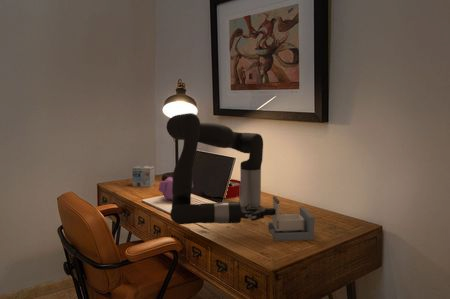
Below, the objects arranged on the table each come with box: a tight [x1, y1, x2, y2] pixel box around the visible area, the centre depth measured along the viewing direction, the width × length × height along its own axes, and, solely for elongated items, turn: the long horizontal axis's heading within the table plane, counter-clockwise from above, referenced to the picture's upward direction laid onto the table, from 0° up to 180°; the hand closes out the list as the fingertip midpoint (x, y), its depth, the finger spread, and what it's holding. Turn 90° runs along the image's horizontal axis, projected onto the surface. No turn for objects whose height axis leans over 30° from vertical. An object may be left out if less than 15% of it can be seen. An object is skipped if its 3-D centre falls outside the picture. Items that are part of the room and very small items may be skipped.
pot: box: [158, 176, 194, 201], centre depth 193 cm, size 18×17×12 cm
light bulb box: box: [131, 165, 156, 188], centre depth 223 cm, size 11×7×11 cm, turn 81°
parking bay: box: [267, 206, 315, 242], centre depth 145 cm, size 13×14×8 cm
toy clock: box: [225, 178, 240, 199], centre depth 205 cm, size 20×6×20 cm
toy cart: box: [272, 195, 305, 233], centre depth 144 cm, size 7×10×13 cm
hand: (274, 211), depth 144 cm, fingers closed
